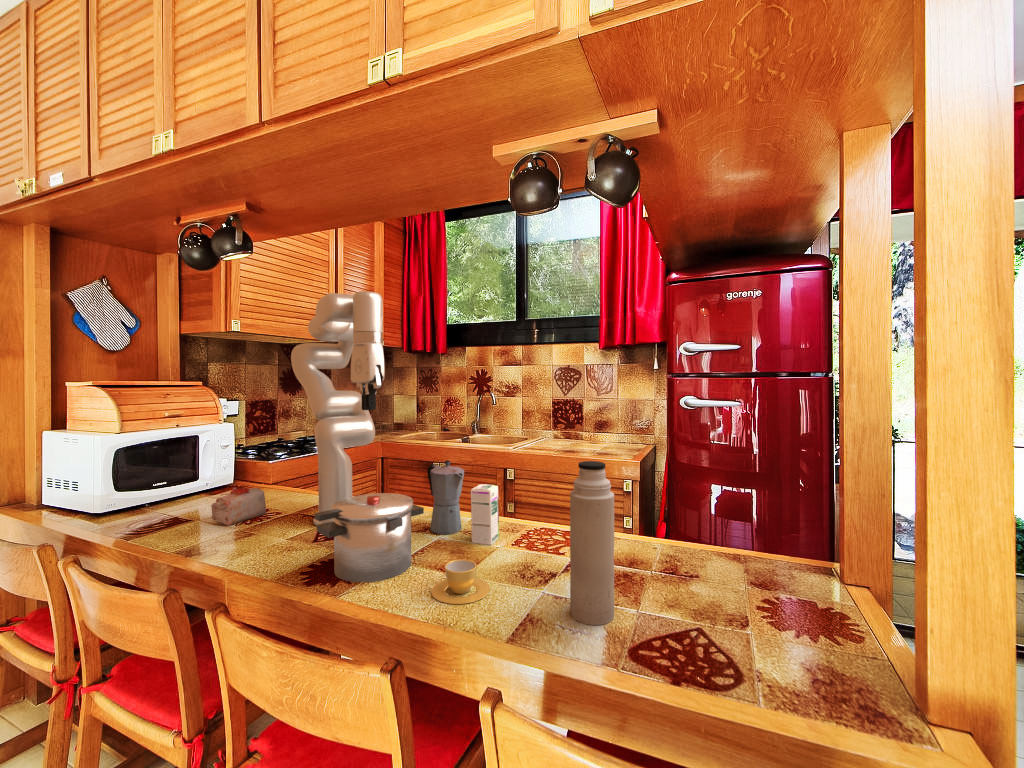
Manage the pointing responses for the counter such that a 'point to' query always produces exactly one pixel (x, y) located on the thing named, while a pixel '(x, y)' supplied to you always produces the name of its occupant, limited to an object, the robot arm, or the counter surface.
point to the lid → (368, 508)
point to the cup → (460, 583)
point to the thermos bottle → (592, 546)
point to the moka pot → (445, 497)
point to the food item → (239, 506)
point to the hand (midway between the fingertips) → (368, 409)
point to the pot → (371, 547)
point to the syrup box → (485, 514)
